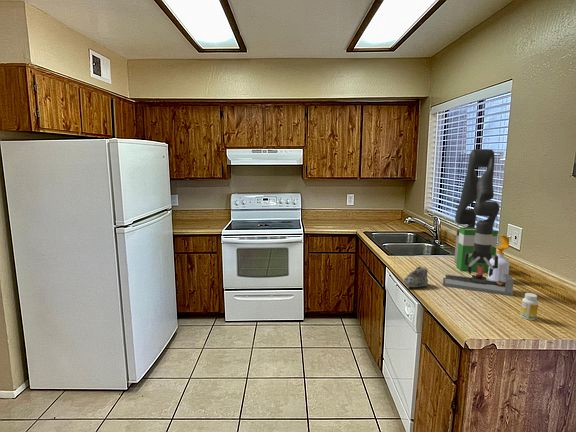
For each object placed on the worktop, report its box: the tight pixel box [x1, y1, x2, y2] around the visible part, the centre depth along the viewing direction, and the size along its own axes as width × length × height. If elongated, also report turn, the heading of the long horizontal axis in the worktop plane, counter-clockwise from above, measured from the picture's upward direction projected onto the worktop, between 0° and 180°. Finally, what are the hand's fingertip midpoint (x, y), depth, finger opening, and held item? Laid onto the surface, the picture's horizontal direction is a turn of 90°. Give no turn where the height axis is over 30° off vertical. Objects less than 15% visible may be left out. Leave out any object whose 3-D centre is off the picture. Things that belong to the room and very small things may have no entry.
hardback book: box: [455, 226, 499, 273], centre depth 198 cm, size 18×7×24 cm, turn 82°
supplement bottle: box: [519, 292, 539, 321], centre depth 139 cm, size 5×5×10 cm
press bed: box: [442, 274, 514, 297], centre depth 171 cm, size 9×30×8 cm, turn 65°
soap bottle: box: [487, 233, 511, 282], centre depth 181 cm, size 9×9×25 cm
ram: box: [471, 265, 488, 284], centre depth 170 cm, size 6×6×10 cm
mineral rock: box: [403, 266, 429, 288], centre depth 173 cm, size 13×11×10 cm
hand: (479, 274), depth 170 cm, fingers open, 8 cm apart
